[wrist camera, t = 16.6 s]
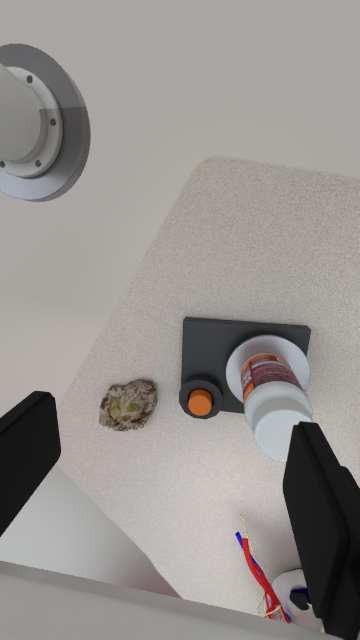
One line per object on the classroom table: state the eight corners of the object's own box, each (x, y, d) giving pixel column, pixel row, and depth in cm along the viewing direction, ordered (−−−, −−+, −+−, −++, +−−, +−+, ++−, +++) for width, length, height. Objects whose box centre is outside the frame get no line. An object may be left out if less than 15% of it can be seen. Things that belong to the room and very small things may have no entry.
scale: (182, 402, 40) (178, 416, 37) (185, 316, 37) (181, 323, 33) (292, 415, 38) (298, 431, 35) (307, 325, 34) (315, 334, 31)
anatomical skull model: (370, 608, 26) (463, 859, 25) (318, 481, 44) (372, 626, 43) (213, 618, 30) (291, 834, 29) (225, 497, 48) (274, 630, 47)
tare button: (189, 406, 37) (187, 414, 35) (190, 387, 36) (188, 394, 34) (211, 409, 36) (210, 417, 35) (212, 389, 35) (211, 396, 34)
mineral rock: (123, 448, 41) (82, 422, 39) (127, 426, 45) (90, 401, 43) (173, 411, 39) (132, 380, 36) (172, 391, 43) (135, 362, 40)
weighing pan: (223, 402, 35) (223, 405, 35) (229, 331, 33) (229, 332, 32) (302, 412, 34) (303, 414, 33) (315, 338, 31) (316, 339, 30)
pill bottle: (235, 355, 33) (240, 408, 22) (288, 347, 31) (320, 399, 20) (245, 399, 34) (253, 469, 23) (295, 393, 33) (329, 465, 22)
